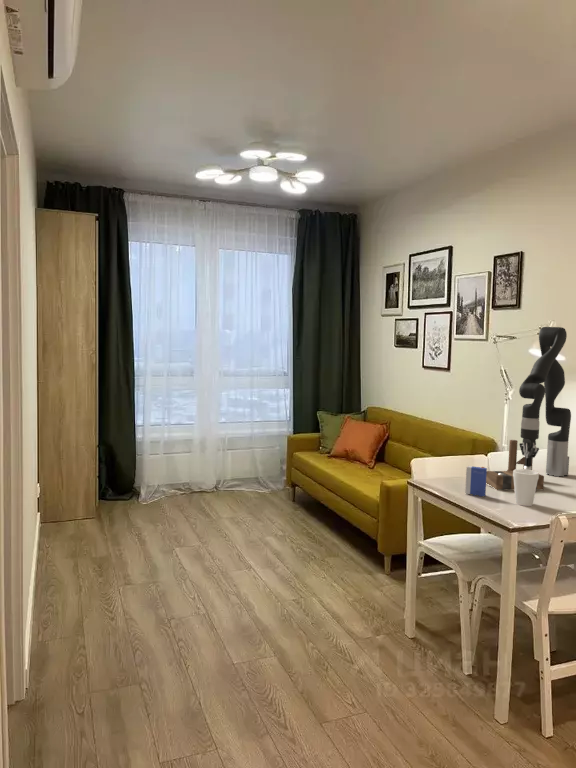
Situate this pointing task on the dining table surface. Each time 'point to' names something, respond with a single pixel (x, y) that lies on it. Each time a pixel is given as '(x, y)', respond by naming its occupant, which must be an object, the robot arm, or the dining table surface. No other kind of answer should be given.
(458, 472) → the dining table surface
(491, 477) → the band block
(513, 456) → the wooden post with wedge
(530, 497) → the foam cup
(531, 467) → the peg inner
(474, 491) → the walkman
